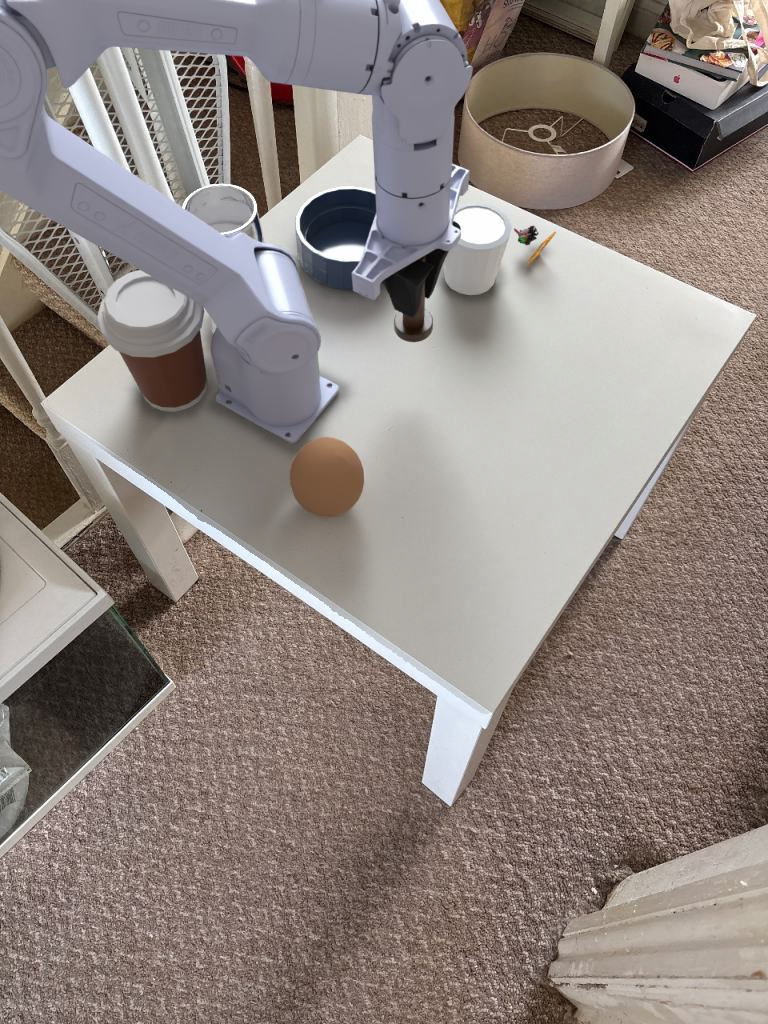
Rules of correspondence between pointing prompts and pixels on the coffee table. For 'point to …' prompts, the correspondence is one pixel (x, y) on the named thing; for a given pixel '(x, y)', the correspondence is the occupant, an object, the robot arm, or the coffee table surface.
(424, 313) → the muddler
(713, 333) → the coffee table surface
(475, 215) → the white cylinder
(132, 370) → the coffee cup
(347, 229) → the bowl
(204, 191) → the beer glass
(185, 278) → the robot arm
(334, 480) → the egg
